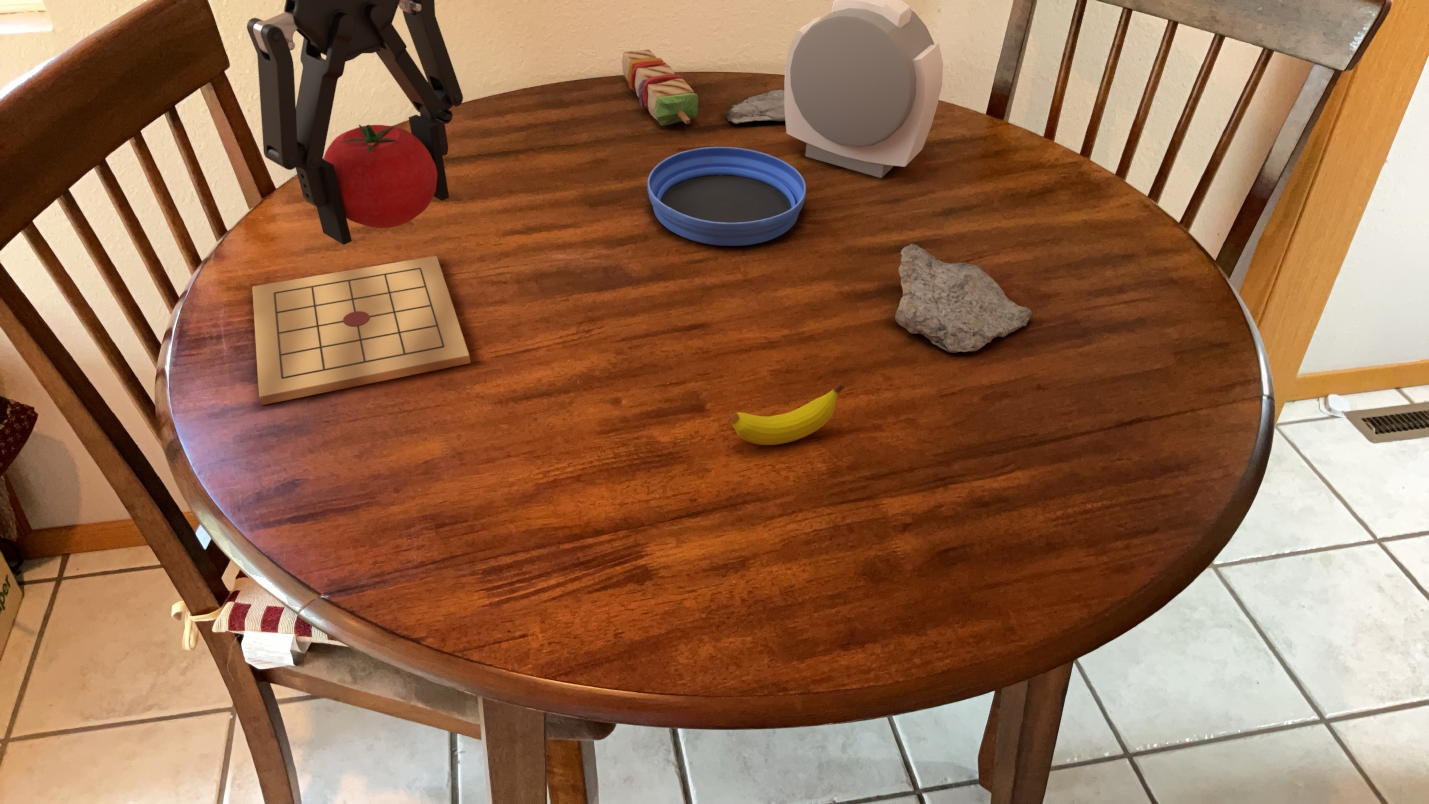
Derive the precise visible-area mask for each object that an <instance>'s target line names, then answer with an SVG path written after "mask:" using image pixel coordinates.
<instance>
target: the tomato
mask: <svg viewBox="0 0 1429 804" xmlns="http://www.w3.org/2000/svg"><path fill="white" fill-rule="evenodd" d="M323 159H324V160H326V161H328V162H329V163H331V164H333V165H334V169H335V173H336V177H337V181H338V185H339V190H340V194H341V198H342V202H343V206H344V210H345V215H346V219H347V220H348V221H351V222H354V223H356V224H359V225H362V226H366V227H369V228H375V229H388V228H395V227H399V226H402V225H404V224H407V223H409V222H410V221H412V220H414V219H416V217H418V216H419V215H421V214H422V213H424V211H426V209H427V208H428V207H429V205H430V204H431V201H432V200H433V198H434V194H435V191H436V184H437V169H436V165H435V163H434V161H433V159H432V157H431V155H430V153H429V151H428V149H427V148H426V147H425V146H424V145H423V143H422V142H421V141H420V140H419V139H418V138H417V137H415V136H414V135H413V134H411V131H408V130H406V129H404V128H402V127H398V126H395V125H386V124H367V125H361V124H358V127H355V128H352V129H349V130H347V131H345V132H342V133H341V134H339V135H338V136H336V137H335V138H334V139H333V140H332V141H331V143H330V144H329V146H328V147H327V149H326V151H325V152H324V155H323Z"/></svg>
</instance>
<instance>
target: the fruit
mask: <svg viewBox="0 0 1429 804" xmlns="http://www.w3.org/2000/svg"><path fill="white" fill-rule="evenodd" d="M844 389H845V385H844V383H842V382H837V383H836V385H835V386H834V387H833V388H832V389H831V390H830V391H829V392H827V393H826V394H824V395H821V396H819V397H817V398H815V399H812V400H811V401H809V402H808V403H806V404H804V405H802V406H800V407H798V408H796V409H793V410H791V411H789V412H784V413H781V414H775V415H769V416H765V415H764V416H763V415H755V414H750V413H746V412H741V411H739V412H738V411H737V412H732V413H731V414H729V420H730V423H731V426H732V428H733V429H734V431H735V433H736V434H737V435H738V437H739V438H740V439H742V440H743V441H745V442H747V443H751V444H755V445H761V446H775V445H782V444H783V445H784V444H788V443H791V442H795V441H798V440H800V439H803V438H805V437H808V436H809V435H811V434H813V433H815V432H817V431H819V430H820V429H821V428H822V427H824V426H825V425H826V424H827V423H829V421H830V420H831V419H832V416H833V415H834V412H835V409H836V405H837V398H838V395H839V394H840V393H841V392H842V391H843V390H844Z"/></svg>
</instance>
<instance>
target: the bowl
mask: <svg viewBox="0 0 1429 804" xmlns="http://www.w3.org/2000/svg"><path fill="white" fill-rule="evenodd" d="M646 187H647V189H646V190H647V194H648V198H649V202H650V203H651V205H652V209H653V213H654V215H655V217H656V219H657V220H658V222H659V223H660V224H662V226H663V227H665V228H666V229H667V230H668V231H670V232H671V233H674V234H676V235H677V236H680V237H681V238H684V239H687V240H690V241H692V242H697V243H700V244H704V245H705V244H706V245H712V246H720V247H742V246H751V245H757V244H761V243H766V242H768V241H771V240H775V239H776V238H779V237H781V236H783V235H784V234H785V233H787V232H788V231H789V230H790V229H792V227H793V226H794V225H795V224H796V222H797V220H798V218H799V214H800V212H801V211H802V208H803V206H804V204H805V202H806V196H807V185H806V181H805V179H804V176H802V174H801V173H800V172H799V170H797V169H796V168H795V167H794V166H792V165H791V164H790V163H788V162H786V161H785V160H783V159H780V158H779V157H776V156H774V155H770V154H768V153H765V152H762V151H758V150H753V149H748V148H741V147H733V146H708V147H707V146H706V147H699V148H693V149H692V148H691V149H688V150H684V151H681V152H678V153H676V154H673V155H671V156H669V157H667V158H665V159H663V160H662V161H660V162H659V163H658V164H657V165H656V166H654V168H653V169H652V170H651V171H650V173H649V175H648V177H647V186H646Z"/></svg>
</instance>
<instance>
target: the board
mask: <svg viewBox="0 0 1429 804" xmlns="http://www.w3.org/2000/svg"><path fill="white" fill-rule="evenodd" d="M251 290H252V291H251V292H252V305H253V306H252V307H253V321H254V339H255V340H254V341H255V354H256V370H257V371H256V372H257V387H258V398H259V401H260V404H261V405H262V406H265V405H270V404H275V403H280V402H284V401H291V400H295V399H300V398H304V397H311V396H314V395H320V394H325V393H330V392H335V391H339V390H340V391H341V390H344V389H350V388H354V387H355V388H356V387H359V386H365V385H369V384H374V383H381V382H384V381H391V380H393V379H399V378H403V377H409V376H414V375H419V374H424V373H429V372H435V371H438V370H445V369H448V368H455V367H459V366H463V365H464V366H465V365H469V364H471V357H470V352H469V349H468V347H467V343H466V340H465V337H464V335H463V332H462V328H461V326H460V322H459V319H458V316H457V313H456V310H455V307H454V304H453V301H452V298H451V295H450V292H449V289H448V286H447V282H446V280H445V275H444V273H443V270H442V267H441V264H440V261H439V258H438V256H437V255H432V256H425V257H420V258H414V259H408V260H402V261H395V262H390V263H383V264H379V265H373V266H366V267H360V268H354V269H349V270H342V271H336V272H329V273H324V274H319V275H318V274H317V275H311V276H307V277H300V278H295V279H288V280H282V281H276V282H271V283H264V284H259V285H258V284H257V285H252V287H251Z"/></svg>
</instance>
